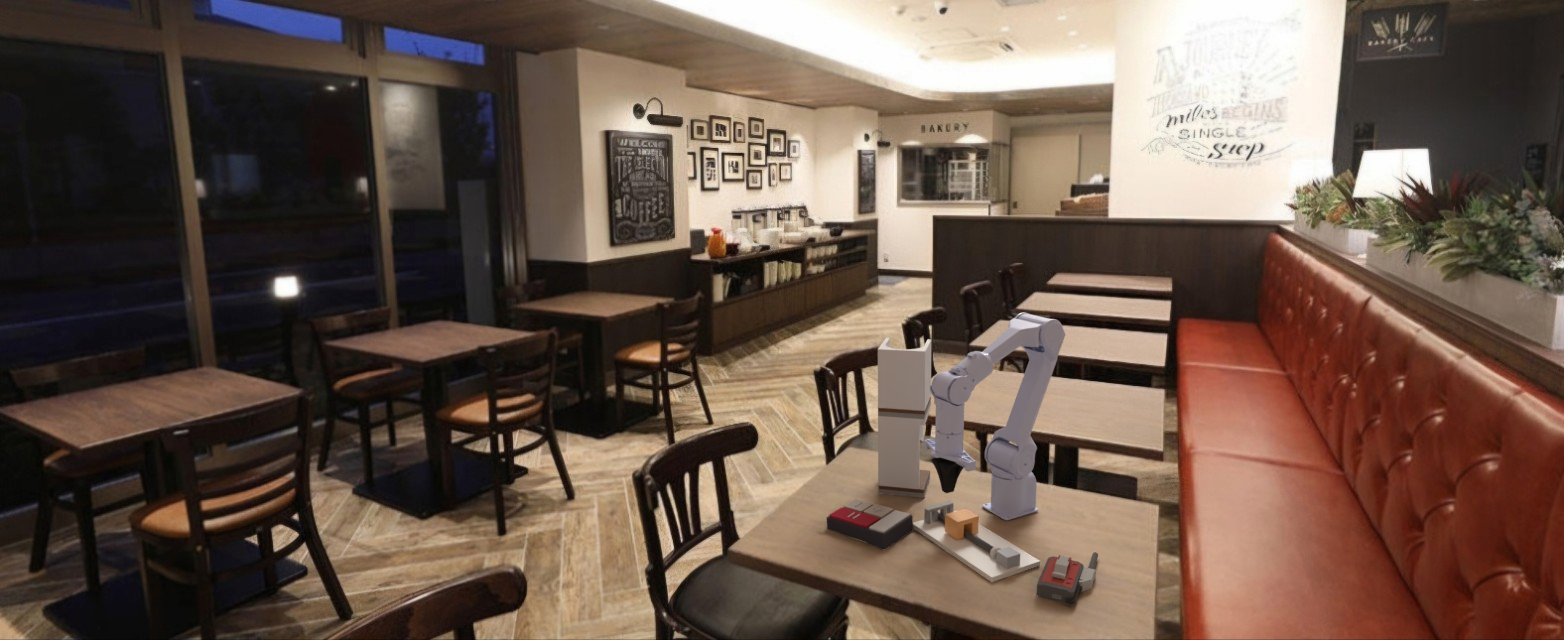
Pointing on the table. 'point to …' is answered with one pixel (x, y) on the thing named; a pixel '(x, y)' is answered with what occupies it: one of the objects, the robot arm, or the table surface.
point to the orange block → (961, 523)
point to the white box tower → (902, 418)
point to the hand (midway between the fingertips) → (948, 491)
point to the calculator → (870, 523)
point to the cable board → (975, 546)
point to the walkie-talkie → (1065, 579)
